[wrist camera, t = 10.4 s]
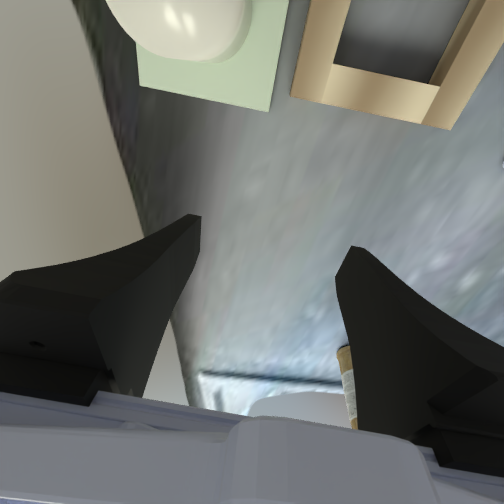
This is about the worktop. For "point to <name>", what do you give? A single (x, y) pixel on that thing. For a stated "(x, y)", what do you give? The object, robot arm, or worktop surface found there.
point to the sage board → (226, 65)
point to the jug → (186, 26)
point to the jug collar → (392, 88)
